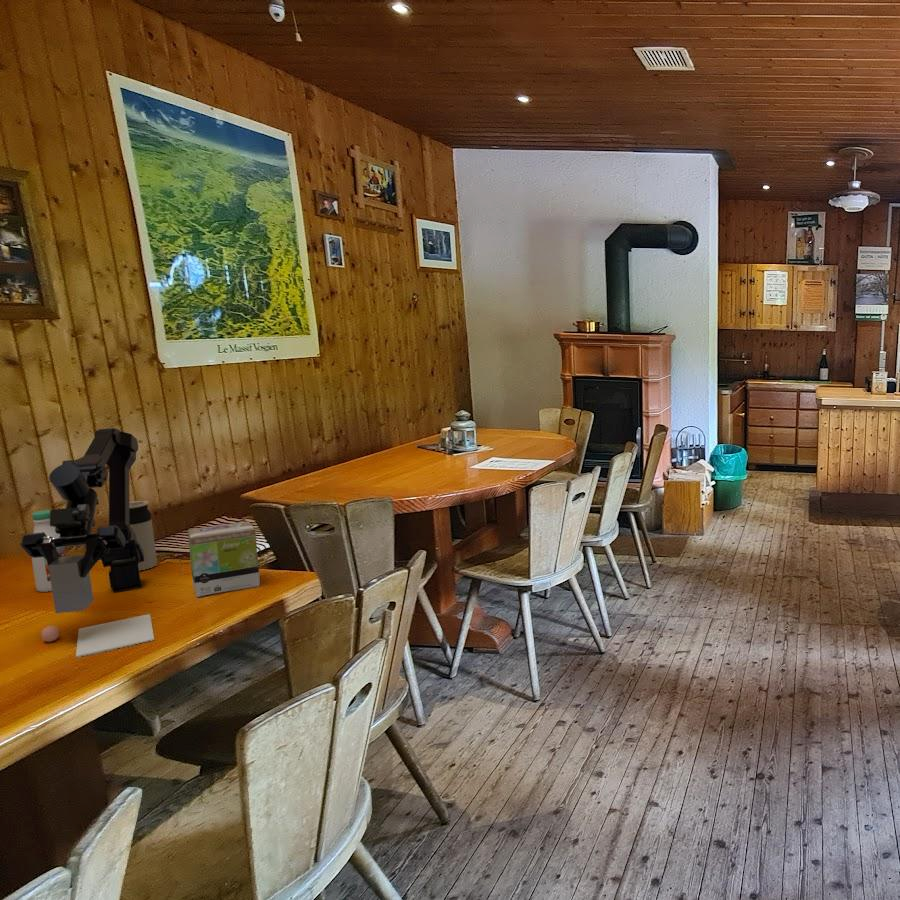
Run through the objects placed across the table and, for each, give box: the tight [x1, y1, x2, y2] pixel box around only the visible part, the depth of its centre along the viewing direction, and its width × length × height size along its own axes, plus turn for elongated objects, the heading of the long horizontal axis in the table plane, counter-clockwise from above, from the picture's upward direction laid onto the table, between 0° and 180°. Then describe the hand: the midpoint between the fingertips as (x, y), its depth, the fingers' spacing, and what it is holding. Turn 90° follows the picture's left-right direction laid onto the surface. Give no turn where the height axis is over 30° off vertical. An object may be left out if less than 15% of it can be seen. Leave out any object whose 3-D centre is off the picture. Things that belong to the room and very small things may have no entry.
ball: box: [40, 625, 60, 643], centre depth 144 cm, size 3×3×3 cm
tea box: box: [187, 520, 261, 598], centre depth 171 cm, size 15×10×15 cm
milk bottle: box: [31, 509, 68, 593], centre depth 179 cm, size 8×8×20 cm
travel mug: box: [129, 500, 158, 572], centre depth 191 cm, size 8×8×18 cm
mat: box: [75, 613, 155, 659], centre depth 145 cm, size 14×16×1 cm
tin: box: [48, 554, 94, 614], centre depth 143 cm, size 5×5×10 cm
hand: (67, 578), depth 141 cm, fingers closed on tin, 5 cm apart
